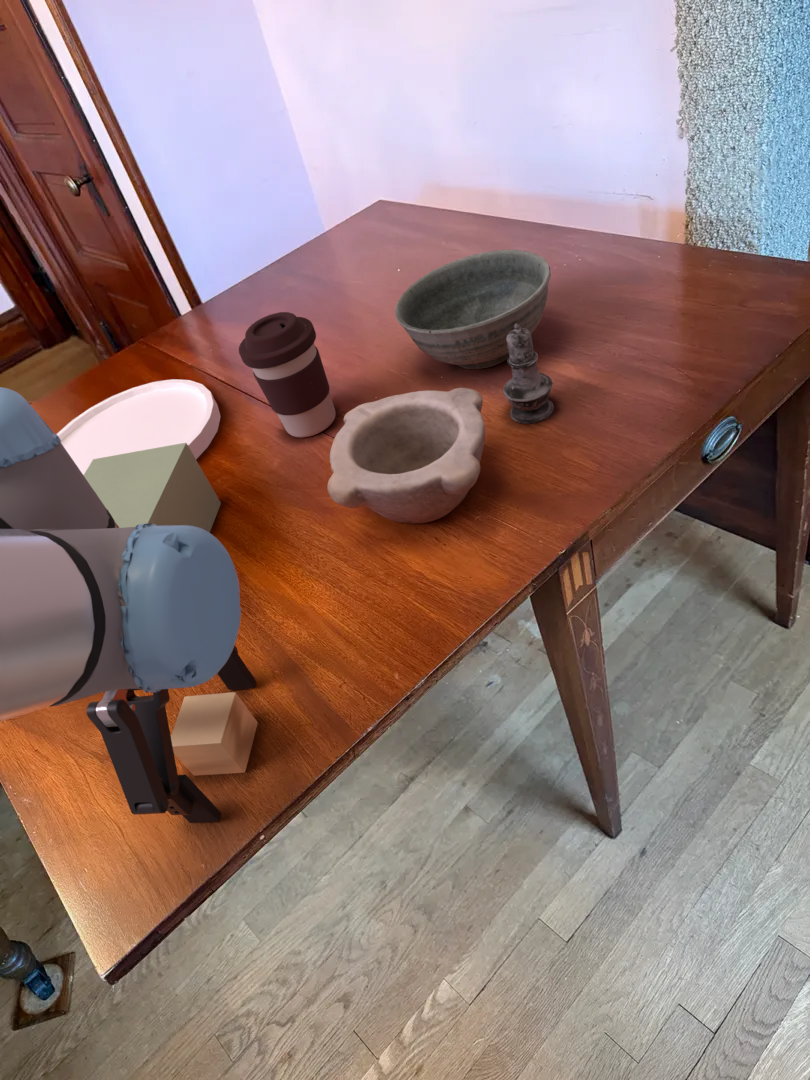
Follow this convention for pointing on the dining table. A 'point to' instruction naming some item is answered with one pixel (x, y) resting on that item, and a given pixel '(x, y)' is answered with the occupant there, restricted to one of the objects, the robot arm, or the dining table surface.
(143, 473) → the cabinet
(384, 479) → the mortar
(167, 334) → the dining table surface
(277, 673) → the dining table surface
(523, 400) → the grey stone chess piece
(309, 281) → the dining table surface
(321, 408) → the coffee cup
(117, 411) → the plate
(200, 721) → the block
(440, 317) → the bowl
